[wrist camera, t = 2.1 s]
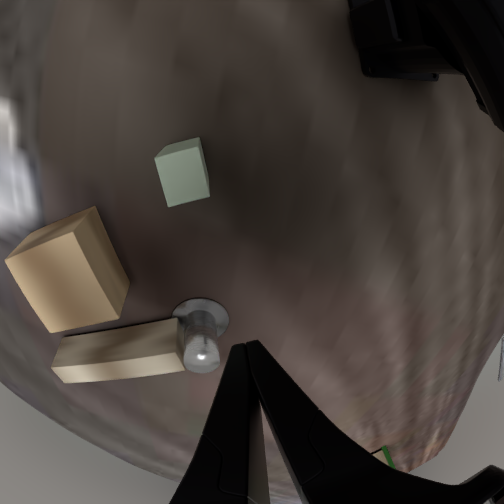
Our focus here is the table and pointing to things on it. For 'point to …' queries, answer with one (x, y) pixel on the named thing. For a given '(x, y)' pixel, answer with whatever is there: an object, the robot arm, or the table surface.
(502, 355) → the slab with upright peg
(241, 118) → the table surface
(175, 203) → the post
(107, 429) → the table surface
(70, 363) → the gate rail
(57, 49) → the table surface
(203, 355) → the metal door knob
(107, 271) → the oak block
